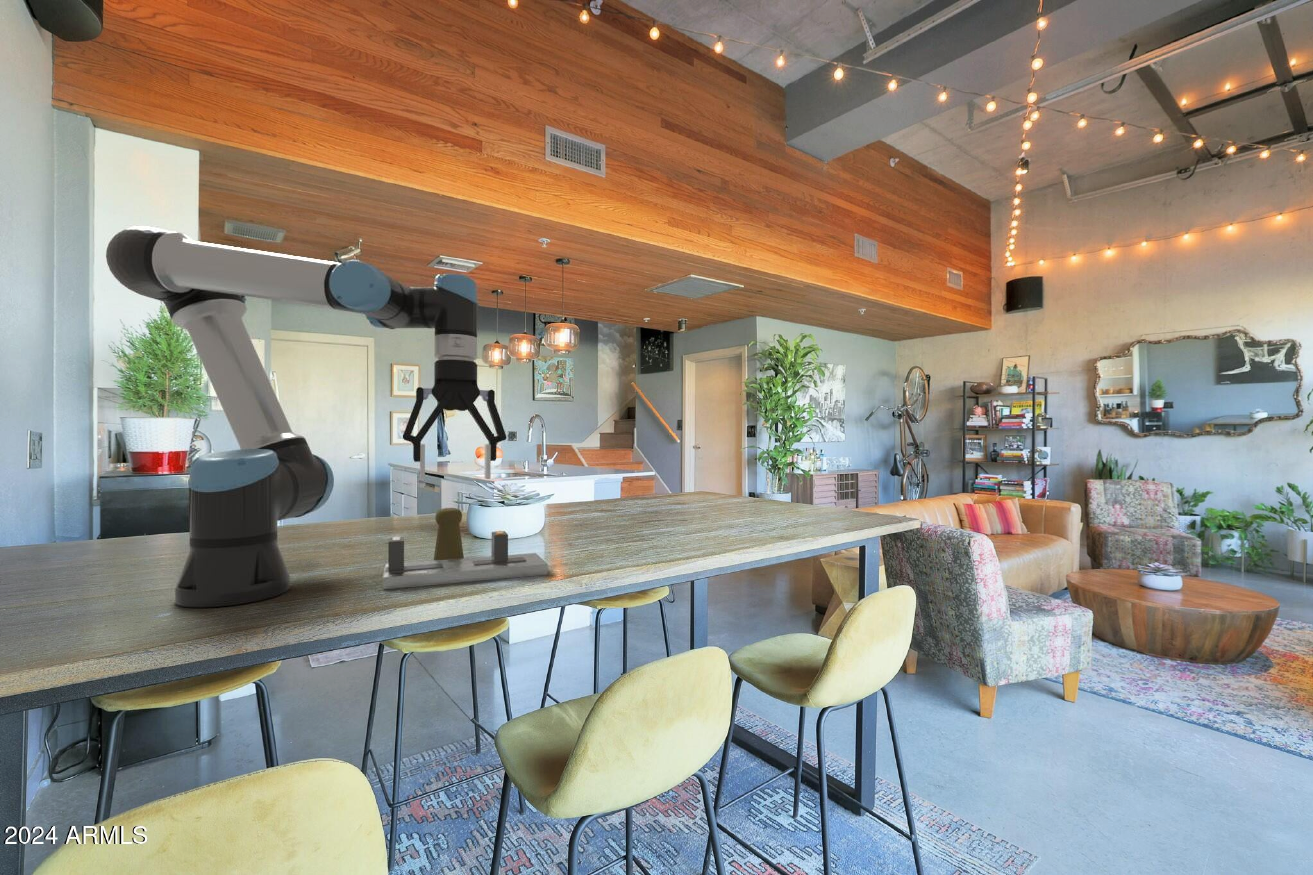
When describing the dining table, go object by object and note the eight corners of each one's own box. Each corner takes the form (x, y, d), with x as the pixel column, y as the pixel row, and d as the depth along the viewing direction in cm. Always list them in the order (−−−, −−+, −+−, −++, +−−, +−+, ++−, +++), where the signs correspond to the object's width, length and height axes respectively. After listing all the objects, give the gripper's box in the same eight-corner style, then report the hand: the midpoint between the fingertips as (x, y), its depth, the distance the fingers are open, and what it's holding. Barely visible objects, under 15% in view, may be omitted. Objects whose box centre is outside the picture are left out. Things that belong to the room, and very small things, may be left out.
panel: (382, 589, 99) (382, 576, 99) (385, 575, 109) (385, 563, 109) (547, 574, 110) (547, 562, 110) (535, 562, 120) (535, 551, 120)
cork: (454, 565, 118) (454, 510, 118) (427, 564, 119) (427, 509, 119) (469, 559, 123) (469, 506, 123) (443, 557, 125) (443, 506, 125)
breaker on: (388, 570, 103) (388, 540, 103) (389, 565, 106) (389, 537, 106) (403, 569, 104) (404, 539, 104) (404, 564, 107) (404, 536, 107)
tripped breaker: (494, 562, 110) (494, 534, 110) (491, 557, 113) (491, 530, 113) (507, 560, 111) (508, 533, 111) (504, 556, 114) (504, 530, 114)
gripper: (386, 354, 101) (386, 482, 101) (523, 361, 110) (522, 479, 110) (387, 359, 108) (387, 479, 108) (516, 365, 117) (515, 476, 117)
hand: (455, 479), depth 109 cm, fingers open, 11 cm apart
